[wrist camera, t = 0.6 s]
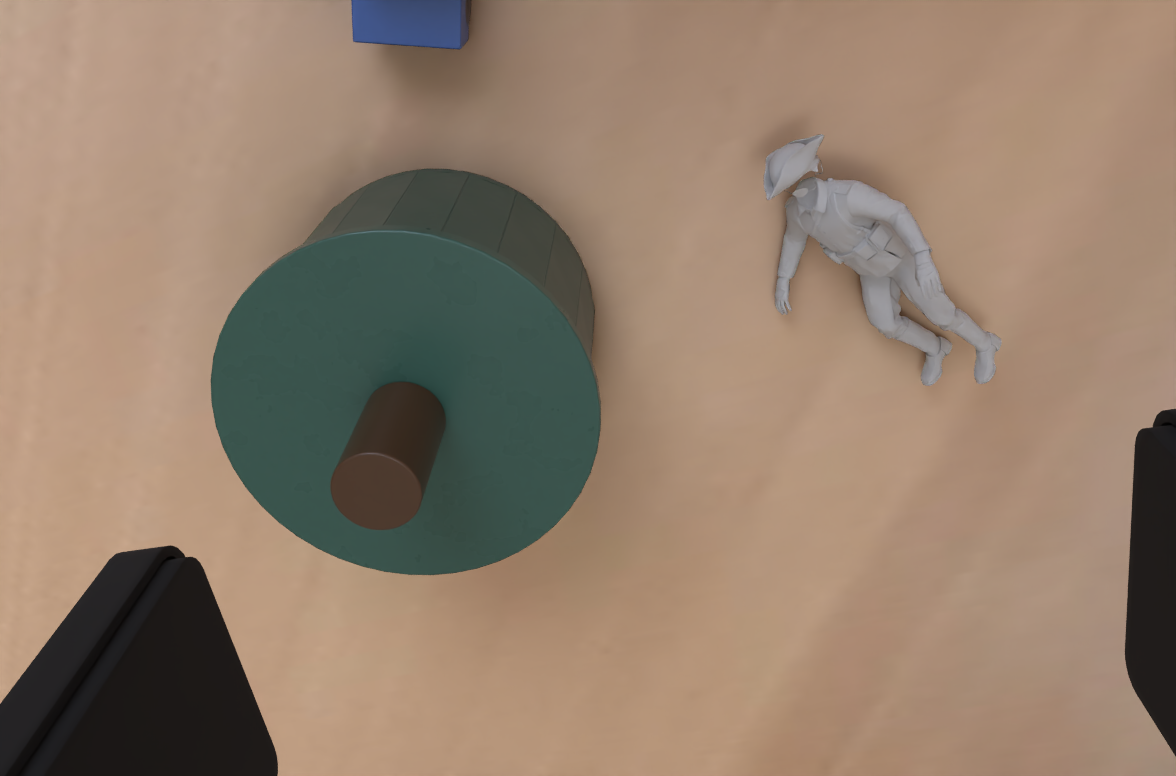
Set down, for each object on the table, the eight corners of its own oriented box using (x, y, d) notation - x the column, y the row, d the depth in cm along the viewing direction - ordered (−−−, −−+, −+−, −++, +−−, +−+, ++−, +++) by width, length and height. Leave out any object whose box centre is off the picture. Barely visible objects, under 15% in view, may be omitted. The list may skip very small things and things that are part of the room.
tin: (289, 157, 42) (213, 225, 34) (603, 179, 42) (598, 253, 34) (307, 432, 47) (246, 543, 40) (584, 451, 47) (576, 566, 40)
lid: (203, 204, 35) (125, 269, 29) (615, 233, 34) (612, 303, 29) (239, 543, 41) (179, 649, 35) (589, 568, 41) (583, 678, 35)
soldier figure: (867, 390, 47) (675, 261, 40) (893, 292, 48) (711, 151, 42) (1032, 384, 40) (835, 230, 34) (1057, 271, 42) (872, 102, 35)
